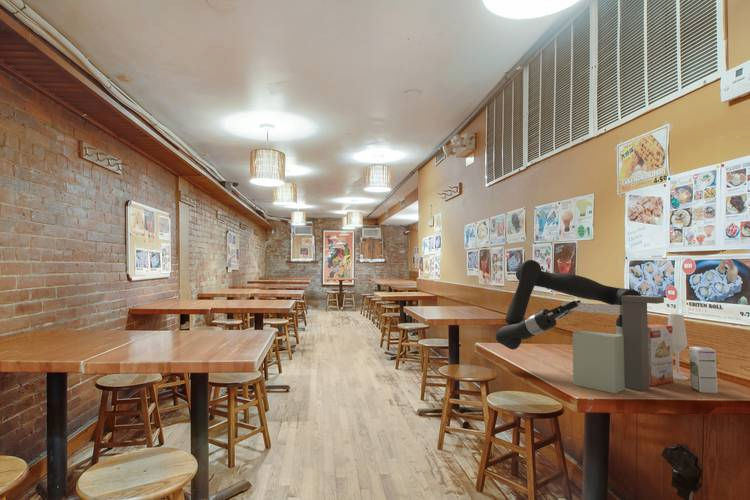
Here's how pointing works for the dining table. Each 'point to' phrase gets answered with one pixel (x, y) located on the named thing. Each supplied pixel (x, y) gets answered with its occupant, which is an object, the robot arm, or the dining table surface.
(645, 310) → the pedestal stand
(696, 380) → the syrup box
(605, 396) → the dining table surface
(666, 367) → the cracker box
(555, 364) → the dining table surface
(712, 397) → the dining table surface
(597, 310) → the aluminium bar
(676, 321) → the champagne flute
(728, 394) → the dining table surface
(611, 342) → the block
